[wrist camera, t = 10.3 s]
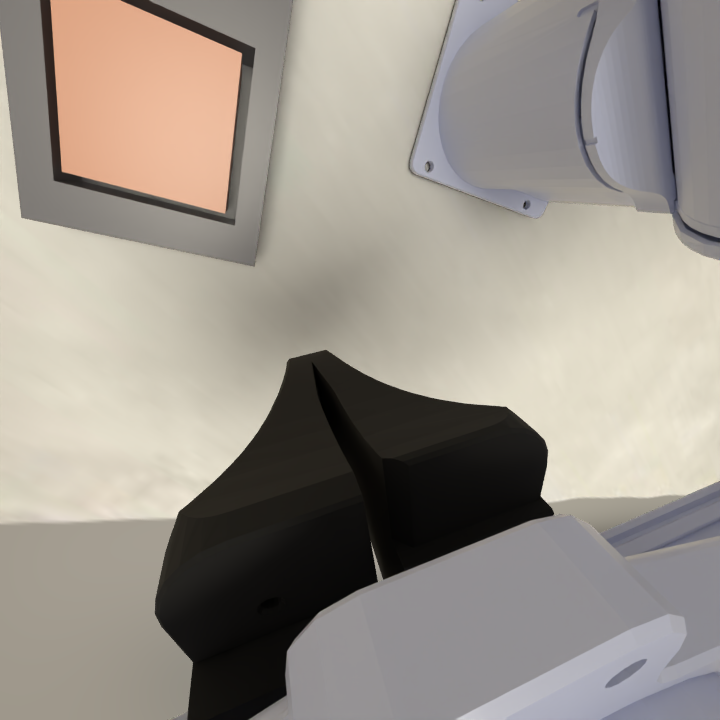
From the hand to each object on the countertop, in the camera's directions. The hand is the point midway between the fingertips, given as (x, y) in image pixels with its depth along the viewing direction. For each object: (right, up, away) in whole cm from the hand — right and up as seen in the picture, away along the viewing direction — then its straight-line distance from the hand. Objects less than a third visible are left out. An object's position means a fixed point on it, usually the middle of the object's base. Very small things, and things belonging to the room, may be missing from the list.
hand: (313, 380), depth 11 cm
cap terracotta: (-6, +10, +2) cm, 12 cm away
